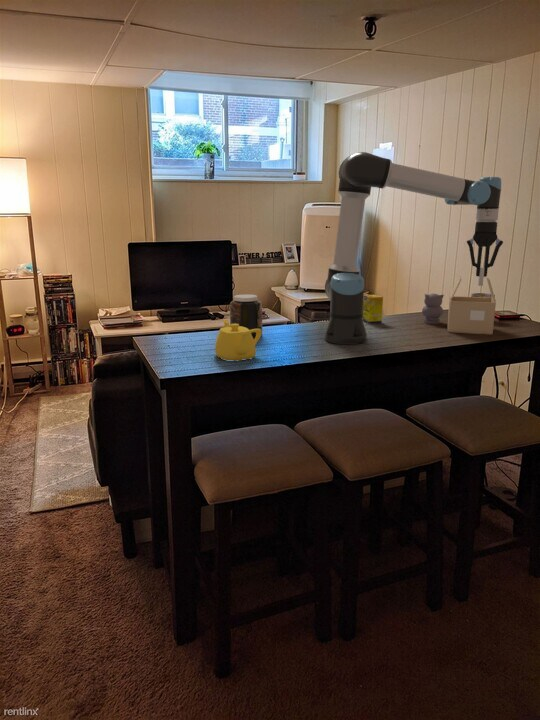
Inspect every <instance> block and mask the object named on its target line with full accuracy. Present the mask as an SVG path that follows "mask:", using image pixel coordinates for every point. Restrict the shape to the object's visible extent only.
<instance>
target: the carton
mask: <svg viewBox="0 0 540 720" xmlns="http://www.w3.org/2000/svg"><path fill="white" fill-rule="evenodd" d="M496 303H497V302H494V300H493V298H486V297H471V296H458V295H457V296H456V295H454V296H453V298H452V300H451V298H450V297H449V301H448V311H447V312H448V313H447V322H446V323H447V325H446V327H447V328H446V329H447V332H448V333H458V334H475V335H493V333H494V322H495V317H496V316H495V315H496V305H497V304H496Z"/></svg>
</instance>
